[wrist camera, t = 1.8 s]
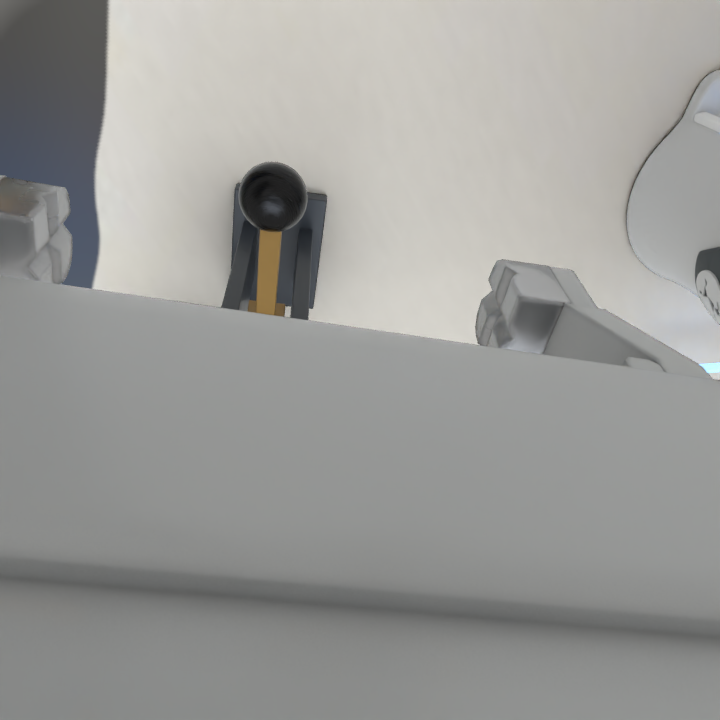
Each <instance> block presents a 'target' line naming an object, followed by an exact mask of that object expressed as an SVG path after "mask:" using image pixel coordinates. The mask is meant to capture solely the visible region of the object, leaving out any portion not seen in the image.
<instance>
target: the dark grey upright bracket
mask: <svg viewBox="0 0 720 720" xmlns="http://www.w3.org/2000/svg"><path fill="white" fill-rule="evenodd" d="M239 188H240V184H236V187H235V191H234V214H233V238H232V261H231V272H230V276H229V280H228V284H227V288H226V292H225V296H224V299H223V303H222V307H221V308H227V309H233V310H240V311H247V310H248V304H249V300H253V301H256V298H257V278H258V258H259V237H260V229H258V228H256V227H255V226H253V225H252V224H251V223H250V222H249V221H248V220H247V219H246V218H245V216H244V214H243V213H242V210H241V208H240V205H239V197H238V195H239ZM307 195H308V201H307V207H306V210H305V213H304V215H303V216H302V218H301V219H300V221H299V222H298V223H297V224H296V225H294V226H293V227H292V228H290V229H288V230H285V231H282V237H281V249H280V261H279V274H278V286H277V298H276V303H280V304H285V306H291V315H290V318H296V319H303V320H308V316H309V308H311V309H313V306H314V298H315V290H316V282H317V275H318V267H319V259H320V251H321V243H322V235H323V227H324V219H325V211H326V204H327V196H326V195H321V194H313V193H307Z"/></svg>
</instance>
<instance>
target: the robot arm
mask: <svg viewBox="0 0 720 720" xmlns="http://www.w3.org/2000/svg"><path fill="white" fill-rule="evenodd" d="M69 214H70V202H69V195H68V192H67V190H66V188H64V187H57V186H52V185H47V184H41V183H36V182H31V181H25V180H20V179H14V178H8V177H6V176H3V175H0V720H720V380H716V379H712V378H711V376H710V375H709V374H708V373H711V372H720V363H710V364H697V363H696V362H694V361H692V360H691V359H689V358H687V357H685V356H684V355H682V354H680V353H679V352H677V351H675V350H673V349H672V348H670V347H668V346H667V345H665V344H663V343H661V342H660V341H658V340H656V339H655V338H653V337H651V336H650V335H648V334H646V333H644V332H643V331H641V330H639V329H638V328H636V327H634V326H632V325H631V324H629V323H627V322H626V321H624V320H622V319H620V318H619V317H617V316H615V315H614V314H612V313H610V312H608V311H607V310H605V309H599V308H597V306H596V305H595V303H594V302H593V300H592V299H591V297H590V296H589V294H588V293H587V291H586V290H585V288H584V286H583V285H582V283H581V282H580V280H579V279H578V277H577V276H576V274H575V273H574V271H572V270H569V269H563V268H555V267H549V266H546V265H539V264H532V263H525V262H518V261H511V260H503V259H502V260H498V261H497V262H496V264H495V265H494V267H493V269H492V272H491V274H490V277H489V283H490V285H491V288H492V292H491V293H489V294H488V295H487V296H486V297H484V298H483V299H482V300H481V303H480V307H479V310H478V313H477V319H476V326H475V329H476V338H477V341H478V344H480V345H475V344H468V343H461V342H454V341H447V340H441V339H434V338H427V337H420V336H413V335H406V334H399V333H392V332H385V331H378V330H372V329H365V328H358V327H351V326H344V325H337V324H330V323H323V322H316V321H309V320H303V319H296V318H289V317H282V316H275V315H268V314H261V313H254V312H247V311H240V310H233V309H227V308H220V307H213V306H206V305H199V304H192V303H185V302H178V301H171V300H164V299H158V298H151V297H144V296H137V295H130V294H123V293H116V292H109V291H102V290H95V289H87V288H82V287H74V286H68V285H61V283H63V281H64V280H65V278H66V276H67V275H68V271H69V268H70V264H71V259H72V236H71V234H70V233H69V231H68V230H67V229H66V227H65V226H64V225H63V222H64V221H65V220H66V218H67V217H68V216H69ZM627 231H628V236H629V240H630V243H631V246H632V248H633V250H634V252H635V254H636V256H637V257H638V259H639V260H640V261H641V262H642V263H643V264H644V265H645V266H646V267H647V268H648V269H649V270H651V271H652V272H653V273H655V274H657V275H659V276H661V277H663V278H665V279H668V280H670V281H673V282H675V283H677V284H679V285H681V286H682V287H684V288H686V289H687V290H689V291H690V292H692V293H693V294H694V295H696V296H697V297H699V298H700V299H701V301H702V303H703V304H704V306H705V308H706V309H707V311H708V312H709V313H710V315H711V316H712V317H713V319H714V320H715V321H716V322H717V323H718V324H719V325H720V70H717V71H714V72H712V73H710V74H709V75H707V76H706V77H705V78H704V79H703V80H702V82H701V83H700V84H699V86H698V87H697V89H696V91H695V93H694V95H693V96H692V98H691V101H690V103H689V105H688V107H687V109H686V111H685V114H684V116H683V118H682V119H681V120H680V122H679V123H678V124H677V126H676V127H675V128H674V129H673V130H672V131H671V132H670V133H669V135H668V136H667V137H666V138H665V139H664V140H663V141H662V142H661V143H660V144H659V145H658V147H657V148H656V149H655V150H654V151H653V153H652V154H651V155H650V157H649V158H648V160H647V161H646V163H645V164H644V166H643V167H642V169H641V171H640V173H639V175H638V177H637V179H636V181H635V183H634V186H633V189H632V192H631V195H630V198H629V203H628V209H627Z"/></svg>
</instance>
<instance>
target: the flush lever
mask: <svg viewBox="0 0 720 720" xmlns="http://www.w3.org/2000/svg"><path fill="white" fill-rule="evenodd" d="M238 197H239V205H240V208H241V210H242V213H243V214H244V216H245V218H246V219H247V220H248V221H249V222H250V223H251V224H252V225H253V226H255V227H256V228H258V229H260V237H259V258H258V278H257V298H256V301H253V300H249V304H248V310H247V312H254V313H261V314H268V315H275V316H282V317H284V314H285V304H280V303H276V298H277V286H278V274H279V261H280V249H281V237H282V231H285V230H288V229H290V228H292V227H293V226H294V225H296V224H297V223H298V222H299V221H300V219H301V218H302V216H303V215H304V213H305V210H306V207H307V201H308V195H307V190H306V186H305V184H304V181H303V180H302V178H301V177H300V175H299V174H298V173H297V172H296V171H295V170H294V169H292V168H291V167H289V166H287V165H285V164H282V163H278V162H265V163H261V164H259V165H257V166H255V167H253V168H252V169H251V170H250V171H249V172H248V173H247V174H246V175H245V176H244V178H243V180H242V182H241V184H240V188H239V195H238Z"/></svg>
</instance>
